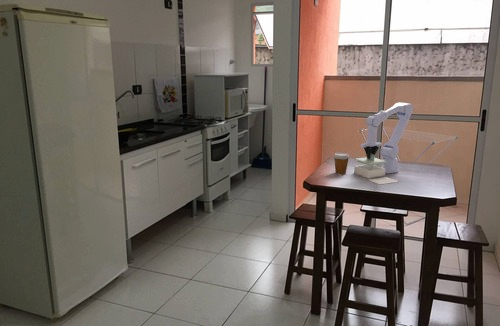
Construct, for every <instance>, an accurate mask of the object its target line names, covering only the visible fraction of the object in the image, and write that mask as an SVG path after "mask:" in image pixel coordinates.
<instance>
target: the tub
mask: <svg viewBox="0 0 500 326" xmlns="http://www.w3.org/2000/svg"><path fill="white" fill-rule="evenodd" d="M353 169H354V170H353V173H354V174H355V175H358V176H360V177H364V178H365V179H375V178H383V177H386V173H385V170H386V169H385V168H382V166H378V165H366V164H363V165H361V164H360V165H354V168H353Z"/></svg>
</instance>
